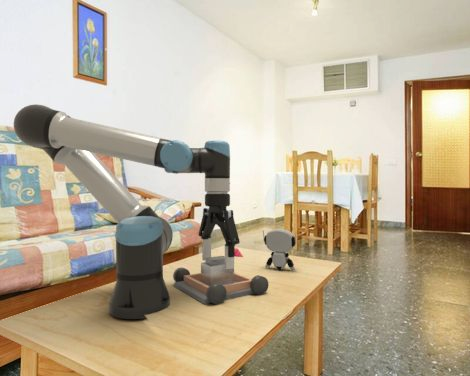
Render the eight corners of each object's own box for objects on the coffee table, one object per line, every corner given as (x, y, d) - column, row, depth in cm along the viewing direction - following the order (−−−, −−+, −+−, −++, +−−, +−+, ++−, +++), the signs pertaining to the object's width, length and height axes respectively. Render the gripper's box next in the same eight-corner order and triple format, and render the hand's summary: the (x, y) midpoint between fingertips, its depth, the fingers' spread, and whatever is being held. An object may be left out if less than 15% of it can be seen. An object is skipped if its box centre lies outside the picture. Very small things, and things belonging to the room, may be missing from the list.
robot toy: (298, 270, 125) (298, 228, 125) (295, 273, 121) (294, 230, 121) (266, 267, 131) (266, 227, 131) (262, 270, 127) (261, 228, 126)
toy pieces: (224, 261, 143) (224, 250, 143) (236, 256, 153) (236, 246, 153) (251, 264, 138) (251, 253, 138) (261, 258, 148) (261, 248, 148)
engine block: (210, 289, 99) (210, 261, 99) (201, 284, 104) (200, 257, 104) (234, 284, 103) (234, 257, 103) (224, 280, 108) (223, 254, 108)
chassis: (208, 306, 88) (208, 286, 88) (171, 284, 108) (171, 268, 108) (269, 292, 99) (269, 275, 99) (226, 275, 119) (226, 260, 119)
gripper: (251, 193, 95) (252, 270, 95) (208, 192, 116) (208, 255, 116) (228, 193, 91) (228, 274, 91) (188, 192, 112) (188, 258, 112)
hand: (217, 264), depth 104 cm, fingers open, 13 cm apart
